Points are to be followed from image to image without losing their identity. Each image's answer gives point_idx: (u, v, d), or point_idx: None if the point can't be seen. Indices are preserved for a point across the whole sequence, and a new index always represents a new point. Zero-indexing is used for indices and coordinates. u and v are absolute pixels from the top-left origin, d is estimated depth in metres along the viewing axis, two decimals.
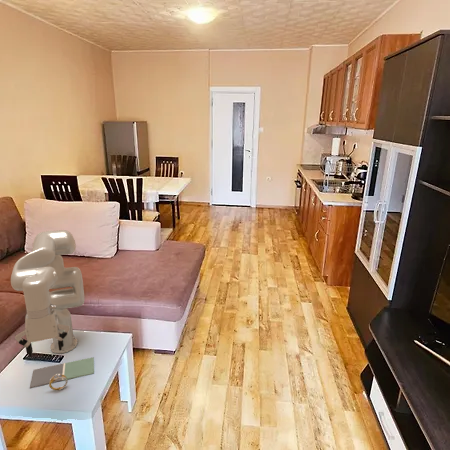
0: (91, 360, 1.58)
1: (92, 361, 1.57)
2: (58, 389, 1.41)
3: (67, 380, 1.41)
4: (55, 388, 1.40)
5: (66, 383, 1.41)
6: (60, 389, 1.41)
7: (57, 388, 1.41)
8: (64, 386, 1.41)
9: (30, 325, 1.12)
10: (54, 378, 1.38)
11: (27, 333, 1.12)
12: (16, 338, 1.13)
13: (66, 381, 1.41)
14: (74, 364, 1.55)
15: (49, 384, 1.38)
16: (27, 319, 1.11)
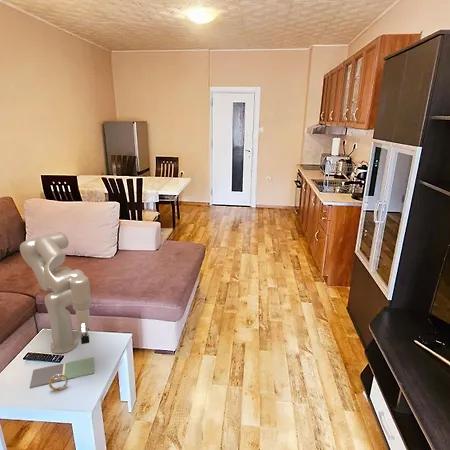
0: (91, 360, 1.58)
1: (92, 361, 1.57)
2: (58, 389, 1.41)
3: (67, 380, 1.41)
4: (55, 388, 1.40)
5: (66, 383, 1.41)
6: (60, 389, 1.41)
7: (57, 388, 1.41)
8: (64, 386, 1.41)
9: (88, 313, 1.42)
10: (54, 378, 1.38)
11: (88, 321, 1.41)
12: None
13: (66, 381, 1.41)
14: (74, 364, 1.55)
15: (49, 384, 1.38)
16: (86, 310, 1.40)
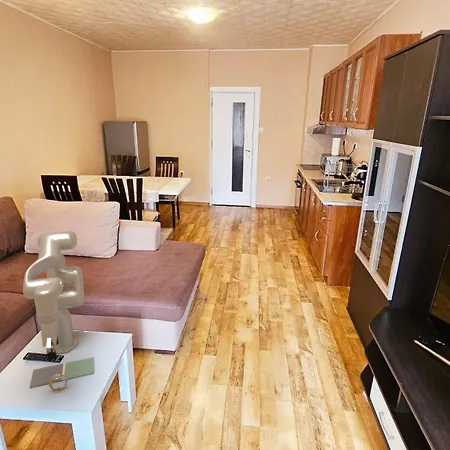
0: (91, 360, 1.58)
1: (92, 361, 1.57)
2: (58, 389, 1.41)
3: (67, 380, 1.41)
4: (55, 388, 1.40)
5: (66, 383, 1.41)
6: (60, 389, 1.41)
7: (57, 388, 1.41)
8: (64, 386, 1.41)
9: (55, 327, 1.29)
10: (54, 378, 1.38)
11: (55, 336, 1.28)
12: (50, 347, 1.25)
13: (66, 381, 1.41)
14: (74, 364, 1.55)
15: (49, 384, 1.38)
16: (53, 323, 1.27)
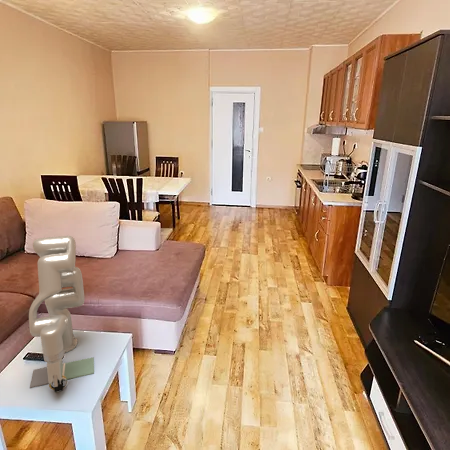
0: (91, 360, 1.58)
1: (92, 361, 1.57)
2: None
3: (67, 380, 1.41)
4: None
5: (66, 383, 1.41)
6: None
7: None
8: (64, 386, 1.41)
9: (60, 364, 1.34)
10: None
11: (60, 373, 1.34)
12: (57, 385, 1.34)
13: (66, 382, 1.40)
14: (74, 364, 1.55)
15: (49, 385, 1.38)
16: (58, 361, 1.33)
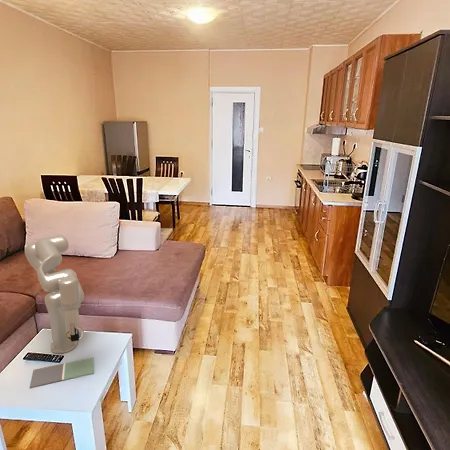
0: (91, 360, 1.58)
1: (92, 361, 1.57)
2: None
3: None
4: None
5: (82, 334, 1.48)
6: None
7: None
8: (80, 337, 1.48)
9: (77, 314, 1.42)
10: None
11: (77, 322, 1.42)
12: (74, 333, 1.42)
13: (82, 332, 1.48)
14: (74, 364, 1.55)
15: (66, 334, 1.45)
16: (75, 310, 1.41)
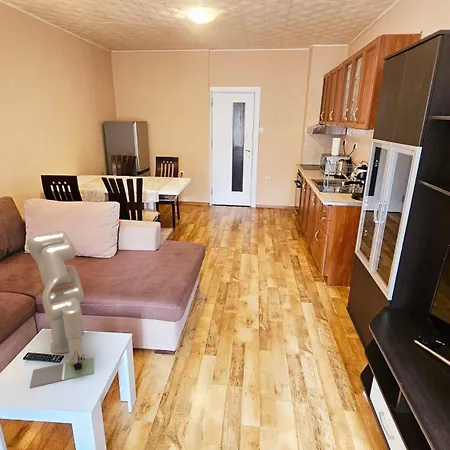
0: (91, 360, 1.58)
1: (92, 361, 1.57)
2: None
3: (85, 359, 1.53)
4: None
5: (85, 362, 1.53)
6: None
7: None
8: (83, 364, 1.53)
9: (80, 342, 1.46)
10: None
11: (80, 350, 1.46)
12: (77, 361, 1.44)
13: (85, 360, 1.52)
14: None
15: (69, 362, 1.50)
16: (79, 339, 1.45)
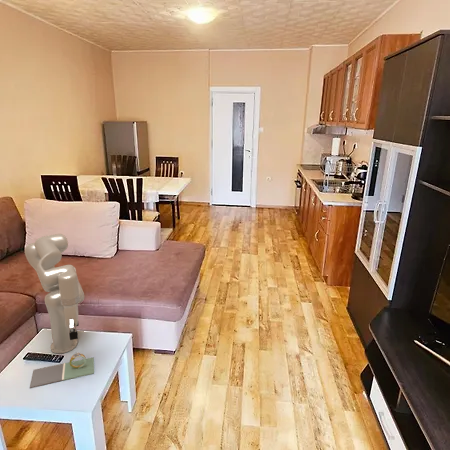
0: (91, 360, 1.58)
1: (92, 361, 1.57)
2: (77, 367, 1.52)
3: (85, 359, 1.53)
4: (75, 366, 1.52)
5: (85, 362, 1.53)
6: (79, 367, 1.53)
7: (76, 366, 1.52)
8: (83, 364, 1.53)
9: (76, 309, 1.41)
10: (74, 356, 1.50)
11: (76, 317, 1.41)
12: (73, 327, 1.38)
13: (85, 360, 1.52)
14: (74, 364, 1.55)
15: (69, 362, 1.50)
16: (75, 306, 1.40)
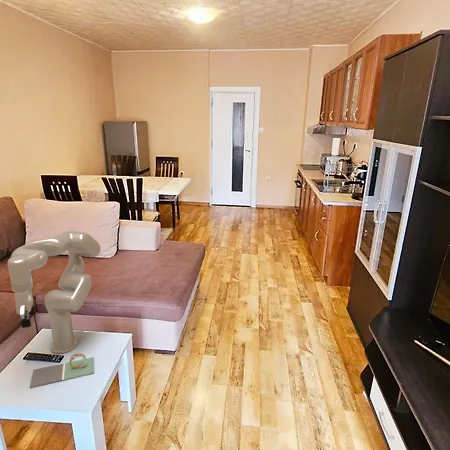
0: (91, 360, 1.58)
1: (92, 361, 1.57)
2: (77, 367, 1.52)
3: (85, 359, 1.53)
4: (75, 366, 1.52)
5: (85, 362, 1.53)
6: (79, 367, 1.53)
7: (76, 366, 1.52)
8: (83, 364, 1.53)
9: (29, 295, 1.35)
10: None
11: (28, 304, 1.35)
12: (24, 314, 1.31)
13: (85, 360, 1.52)
14: (74, 364, 1.55)
15: (69, 362, 1.50)
16: (26, 292, 1.34)
